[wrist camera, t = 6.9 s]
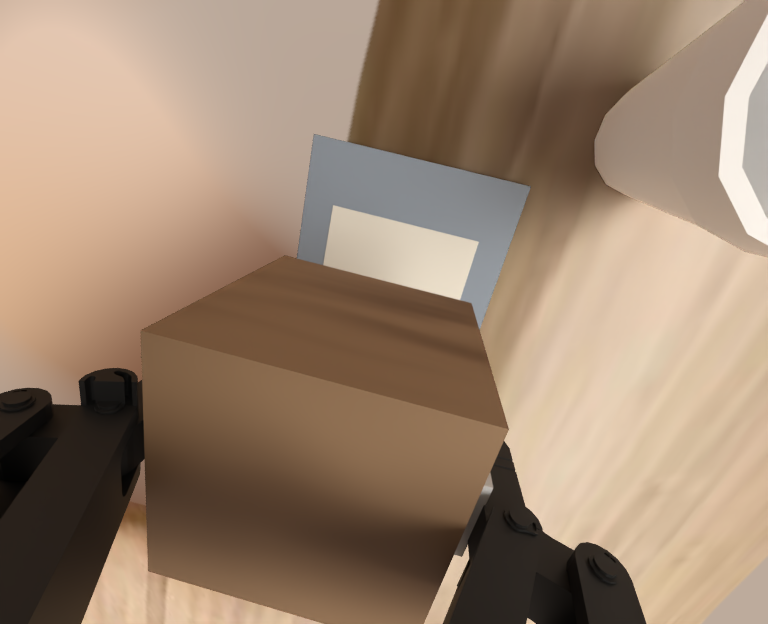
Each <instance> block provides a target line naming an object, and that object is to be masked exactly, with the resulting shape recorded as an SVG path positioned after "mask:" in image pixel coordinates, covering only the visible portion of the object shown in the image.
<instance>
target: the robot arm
mask: <svg viewBox="0 0 768 624" xmlns="http://www.w3.org/2000/svg"><path fill="white" fill-rule="evenodd" d="M137 380H138V378H137V376H136V374H135V373H134V372H132V371H130V370H127V369H121V368H109V369H103V370H98V371H94V372H92V373H90V374H87V375H85V376H84V377H83V378H81V379H80V380H79V388H80V398H81V405H56V404H55V405H54V404H52V398H51V394H50V393H49V392H48V391H46V390H43V389H39V388H22V389H15V390H11V391H8V392H4V393H1V394H0V624H81V623H82V620H83V618H84V615H85V612H86V610H87V607H88V605H89V602H90V600H91V597H92V595H93V592H94V590H95V587H96V585H97V582H98V579H99V577H100V574H101V572H102V569H103V567H104V564H105V562H106V559H107V557H108V554H109V551H110V549H111V546H112V544H113V541H114V539H115V536H116V534H117V531H118V529H119V526H120V523H121V521H122V518H123V516H124V513H125V511H126V508H127V506H128V503H129V501H130V498H131V495H132V493H133V490H134V488H135V485H136V483H137V480H138V477H139V475H140V463H141V462H142V461H143V460H144V459H145V452H144V421H143V390H142V380H141V381H140V382H138V381H137ZM467 545H468V549H469V561H468V563H467V565H466V567H465V569H464V571H463V574H462V576H461V578H460V580H459V582H458V584H457V586H458V587H457V589H456V592H455V594H454V597H453V600H452V602H451V605H450V607H449V610H448V612H447V615H446V617H445V620H444V622H443V624H526V621H527V618H529V619H530V620H532V621H533V622H535V623H536V624H646V621H645V618H644V615H643V612H642V609H641V606H640V603H639V600H638V597H637V594H636V591H635V588H634V585H633V583H632V580H631V578H630V576H629V574H628V572H627V570H626V569H625V568H624V566H623V565H622V564H621V563H620V562H619V560H618V559H617V558H615V557H614V556H613V555H612V554H611V553H610V552H608V551H607V550H605V549H603V548H602V547H600V546H598V545H596V544H592V543H588V542H586V543H580V544H579V545H578V546H577V547H576V548H575V550H572V549H571V548H569V547H567V546H565V545H563V544H562V543H560V542H558V541H556V540H555V539H553V538H551V537H550V536H548V535H547V534H545V533H544V532H543V531H542V526H541V524H540V522H539V520H538V519H537V517H536V516H535V515H534V514H533V513H532V512H531V511H530V510H529V509H528V508H526V507H525V503H524V500H523V496H522V493H521V489H520V485H519V482H518V478H517V474H516V472H515V467H514V463H513V462H512V456H511V453H510V449H509V447H508V446H507V444H506V443H505V442H503V444H502V446H501V448H500V451H499V453H498V455H497V457H496V460H495V462H494V464H493V467H492V469H491V471H490V473H489V476H488V478H487V480H486V483H485V485H484V487H483V489H482V492H481V494H480V496H479V499H478V501H477V503H476V505H475V508H474V510H473V512H472V514H471V517H470V519H469V521H468V524H467V526H466V528H465V530H464V533H463V535H462V537H461V540H460V542H459V544H458V546H457V549H456V551H455V553H454V555H458V556H461V557H462V556H463V554H464V551H465V549H466V547H467Z"/></svg>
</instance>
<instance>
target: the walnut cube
mask: <svg viewBox="0 0 768 624" xmlns="http://www.w3.org/2000/svg"><path fill="white" fill-rule="evenodd" d="M141 358H142V390H143V421H144V452H145V482H146V483H145V484H146V515H147V547H148V571H149V572H153V573H156V574H159V575H163V576H166V577H169V578H173V579H176V580H179V581H183V582H186V583H189V584H193V585H196V586H200V587H203V588H206V589H210V590H213V591H216V592H220V593H223V594H226V595H230V596H233V597H236V598H240V599H243V600H246V601H250V602H253V603H257V604H260V605H263V606H267V607H270V608H273V609H277V610H280V611H283V612H287V613H290V614H293V615H297V616H300V617H304V618H307V619H310V620H314V621H317V622H320V623H324V624H424V622H425V619H426V617H427V615H428V612H429V610H430V608H431V606H432V603H433V601H434V599H435V597H436V594H437V592H438V590H439V587H440V585H441V583H442V581H443V578H444V576H445V574H446V571H447V569H448V567H449V565H450V562H451V560H452V558H453V555H454V553H455V551H456V549H457V546H458V544H459V542H460V540H461V537H462V535H463V533H464V530H465V528H466V526H467V524H468V521H469V519H470V517H471V514H472V512H473V510H474V508H475V505H476V503H477V501H478V499H479V496H480V494H481V492H482V489H483V487H484V485H485V483H486V480H487V478H488V476H489V473H490V471H491V469H492V467H493V464H494V462H495V460H496V457H497V455H498V453H499V451H500V448H501V446H502V444H503V442H504V439H505V437H506V435H507V432H508V430H509V428H508V425H507V422H506V418H505V415H504V411H503V408H502V405H501V401H500V398H499V394H498V391H497V388H496V384H495V381H494V378H493V374H492V371H491V367H490V364H489V361H488V357H487V354H486V350H485V347H484V344H483V340H482V337H481V334H480V330H479V327H478V323H477V320H476V317H475V313H474V310H473V306H472V303H469V302H465V301H462V300H458V299H454V298H450V297H446V296H442V295H438V294H434V293H430V292H426V291H422V290H418V289H414V288H411V287H407V286H403V285H399V284H395V283H391V282H387V281H383V280H379V279H375V278H371V277H367V276H364V275H360V274H356V273H352V272H348V271H344V270H340V269H336V268H332V267H328V266H324V265H320V264H316V263H313V262H309V261H305V260H301V259H297V258H293V257H289V256H283V257H281V258H279V259H277V260H275V261H273V262H271V263H269V264H267V265H265V266H263V267H262V268H260V269H258V270H256V271H254V272H252V273H250V274H248V275H246V276H245V277H242V278H240V279H238V280H237V281H235V282H233V283H231V284H229V285H227V286H225V287H223V288H221V289H219V290H218V291H215V292H214V293H212V294H210V295H208V296H206V297H204V298H202V299H200V300H198V301H196V302H195V303H192V304H191V305H189V306H187V307H185V308H183V309H181V310H179V311H177V312H175V313H173V314H171V315H169V316H167V317H165V318H164V319H162V320H160V321H158V322H156V323H154V324H152V325H150V326H148V327H146V328H144V329H142V330H141Z"/></svg>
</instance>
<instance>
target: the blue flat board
mask: <svg viewBox="0 0 768 624" xmlns="http://www.w3.org/2000/svg"><path fill="white" fill-rule="evenodd" d="M530 188H531V186H527V185H523V184H518V183H514V182H510V181H506V180H502V179H498V178H494V177H490V176H485V175H481V174H477V173H473V172H469V171H465V170H461V169H457V168H452V167H448V166H444V165H440V164H436V163H432V162H428V161H424V160H419V159H415V158H411V157H407V156H403V155H399V154H395V153H391V152H386V151H382V150H378V149H374V148H370V147H366V146H362V145H358V144H353V143H349V142H345V141H341V140H336V139H333V138H328V137H325V136H320V135H316V134H314V138H313V145H312V151H311V160H310V166H309V174H308V181H307V188H306V195H305V203H304V210H303V217H302V224H301V232H300V239H299V246H298V253H297V259H301V260H305V261H309V262H313V263H316V264H320V265H324V266H328V267H332V268H336V269H340V270H344V271H348V272H352V273H356V274H360V275H364V276H367V277H371V278H375V279H379V280H383V281H387V282H391V283H395V284H399V285H403V286H407V287H411V288H414V289H418V290H422V291H426V292H430V293H434V294H438V295H442V296H446V297H450V298H454V299H458V300H462V301H465V302H469V303H472V306H473V310H474V313H475V317H476V320H477V323H478V327H479V330H480V327H481V324H482V321H483V319H484V316H485V313H486V310H487V308H488V305H489V302H490V299H491V296H492V294H493V291H494V288H495V285H496V282H497V280H498V277H499V274H500V271H501V269H502V266H503V263H504V260H505V257H506V255H507V252H508V249H509V246H510V243H511V241H512V238H513V235H514V232H515V230H516V227H517V224H518V221H519V218H520V216H521V213H522V210H523V207H524V204H525V202H526V199H527V196H528V193H529V191H530Z"/></svg>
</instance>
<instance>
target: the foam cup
mask: <svg viewBox="0 0 768 624" xmlns="http://www.w3.org/2000/svg"><path fill="white" fill-rule="evenodd" d="M594 148H595V166H596V168H597V170H598V172H599V173H600V175H601V177H602V179H603V180H604V182H605V184H606V185H608V186H610V187H611V188H613V189H615V190H617V191H619V192H620V193H622V194H624V195H626V196H628V197H630V198H632V199H635V200H637V201H640V202H642V203H645V204H647V205H649V206H652V207H654V208H657V209H659V210H661V211H664V212H666V213H669V214H671V215H673V216H676V217H678V218H681V219H683V220H685V221H688V222H690V223H693V224H695V225H697V226H699V227H701V228H703V229H705V230H707V231H708V232H710V233H712V234H714V235H716V236H717V237H719V238H721V239H723V240H725V241H726V242H728V243H730V244H732V245H734V246H735V247H737V248H739V249H741V250H743V251H744V252H748V253H752V254H756V255H761V256H765V257H768V0H745V1H744V2H743V3H742V4H740V5H739V6H738V7H737V8H735V9H734V10H733V11H731V12H730V13H729V14H728V15H726V16H725V17H724V18H722V19H721V20H720V21H718V22H717V23H716V24H715V25H713V26H712V27H711V28H709V29H708V30H707V31H705V32H704V33H703V34H702V35H700V36H699V37H698V38H696V39H695V40H694V41H693V42H691V43H690V44H689V45H687V46H686V47H685V48H683V49H682V50H681V51H680V52H678V53H677V54H676V55H674V56H673V57H672V58H670V59H669V60H668V61H667V62H665V63H664V64H663V65H661V66H660V67H659V68H658V69H656V70H655V71H654V72H652V73H651V74H650V75H648V76H647V77H646V78H645V79H643V80H642V81H641V82H639V83H638V84H637V85H636V86H634V87H633V88H632V89H630V90H629V91H628V92H627V93H626V94H625V95H624V96H623V97H622V98H621V99H620V100H619V101H618V102H617V103H616V104H615V105H614V106H613V107H612V108H611V109H610V110H609V111H608V113H607V114H606V115H605V116H604V119H603V121H602V124H601V126H600V128H599V131H598V133H597V136H596V138H595V140H594Z"/></svg>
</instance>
